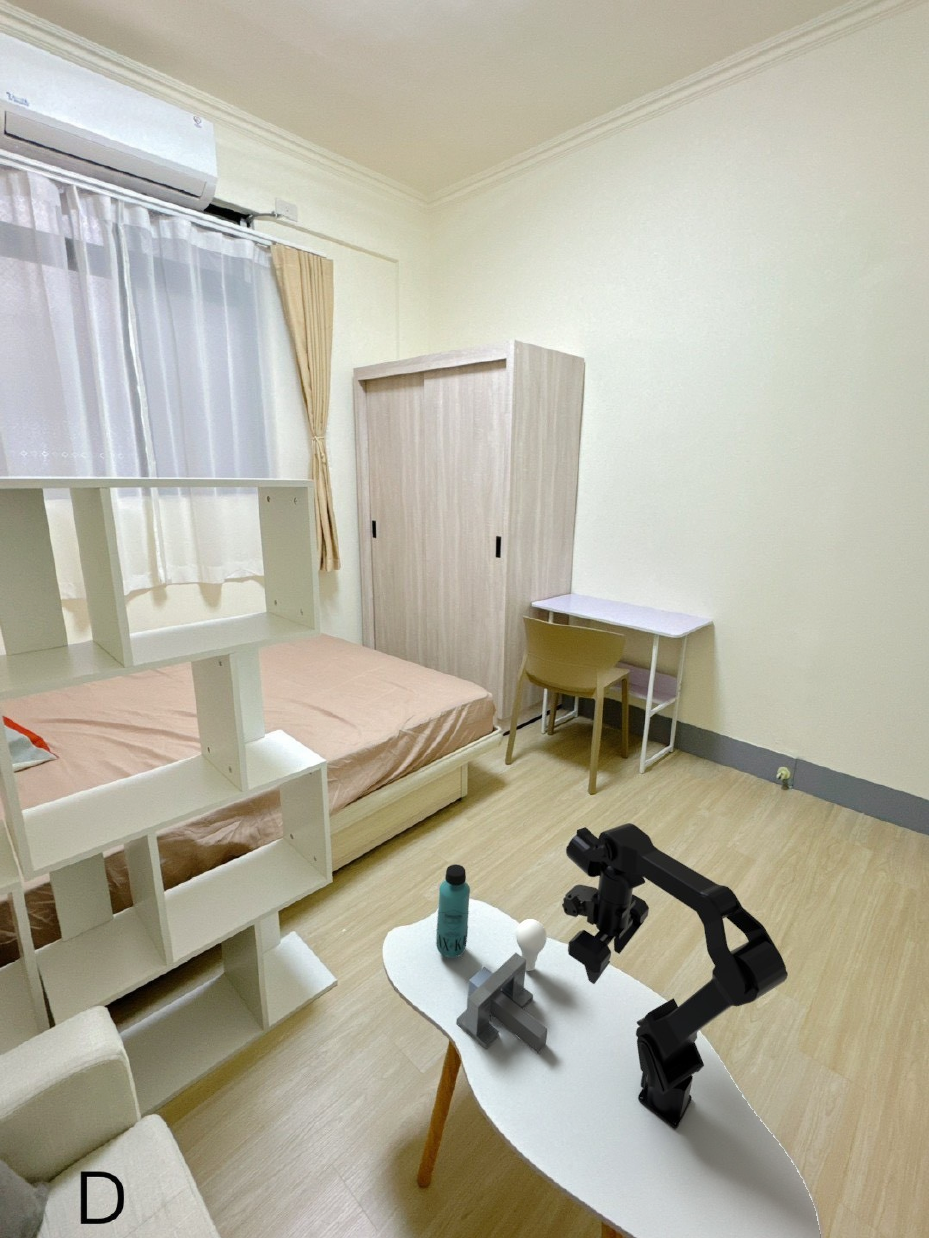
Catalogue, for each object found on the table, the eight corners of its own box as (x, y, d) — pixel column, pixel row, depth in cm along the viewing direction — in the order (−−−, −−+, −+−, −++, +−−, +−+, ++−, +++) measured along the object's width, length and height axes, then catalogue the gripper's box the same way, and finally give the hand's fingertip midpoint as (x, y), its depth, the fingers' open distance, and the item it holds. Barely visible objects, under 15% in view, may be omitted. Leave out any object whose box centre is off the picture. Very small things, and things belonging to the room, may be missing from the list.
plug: (549, 1040, 102) (551, 1018, 101) (534, 1057, 99) (537, 1035, 98) (479, 984, 113) (480, 963, 112) (463, 998, 110) (465, 976, 109)
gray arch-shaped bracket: (532, 998, 110) (535, 966, 109) (485, 1049, 100) (488, 1014, 98) (504, 976, 115) (506, 945, 113) (456, 1023, 105) (458, 989, 103)
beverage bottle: (432, 942, 122) (435, 861, 117) (461, 936, 124) (466, 856, 119) (439, 967, 116) (443, 883, 111) (471, 960, 118) (476, 877, 113)
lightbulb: (533, 986, 113) (538, 940, 110) (507, 970, 116) (511, 924, 114) (548, 967, 118) (553, 922, 115) (523, 951, 121) (527, 907, 119)
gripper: (600, 848, 112) (592, 915, 116) (545, 896, 98) (538, 970, 102) (654, 876, 105) (644, 947, 109) (603, 932, 91) (593, 1010, 95)
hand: (604, 966), depth 104 cm, fingers open, 9 cm apart
